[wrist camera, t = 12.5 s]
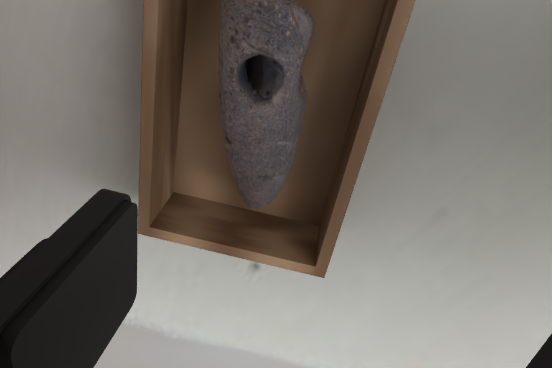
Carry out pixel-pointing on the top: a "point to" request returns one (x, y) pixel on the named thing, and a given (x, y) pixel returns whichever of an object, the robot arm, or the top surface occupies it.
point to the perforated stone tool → (262, 91)
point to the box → (210, 142)
